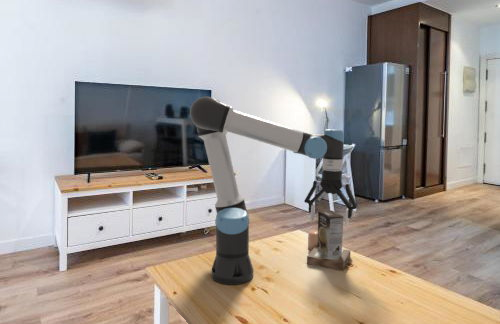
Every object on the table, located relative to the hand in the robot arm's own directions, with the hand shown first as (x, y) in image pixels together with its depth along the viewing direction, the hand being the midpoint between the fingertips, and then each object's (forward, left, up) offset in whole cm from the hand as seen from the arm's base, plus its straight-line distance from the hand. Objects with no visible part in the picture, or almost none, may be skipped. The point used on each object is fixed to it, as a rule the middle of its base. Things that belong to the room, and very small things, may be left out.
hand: (329, 223), depth 140 cm
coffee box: (0, 0, -12) cm, 12 cm away
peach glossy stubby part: (-8, +11, -15) cm, 21 cm away
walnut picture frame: (0, 0, -15) cm, 15 cm away
